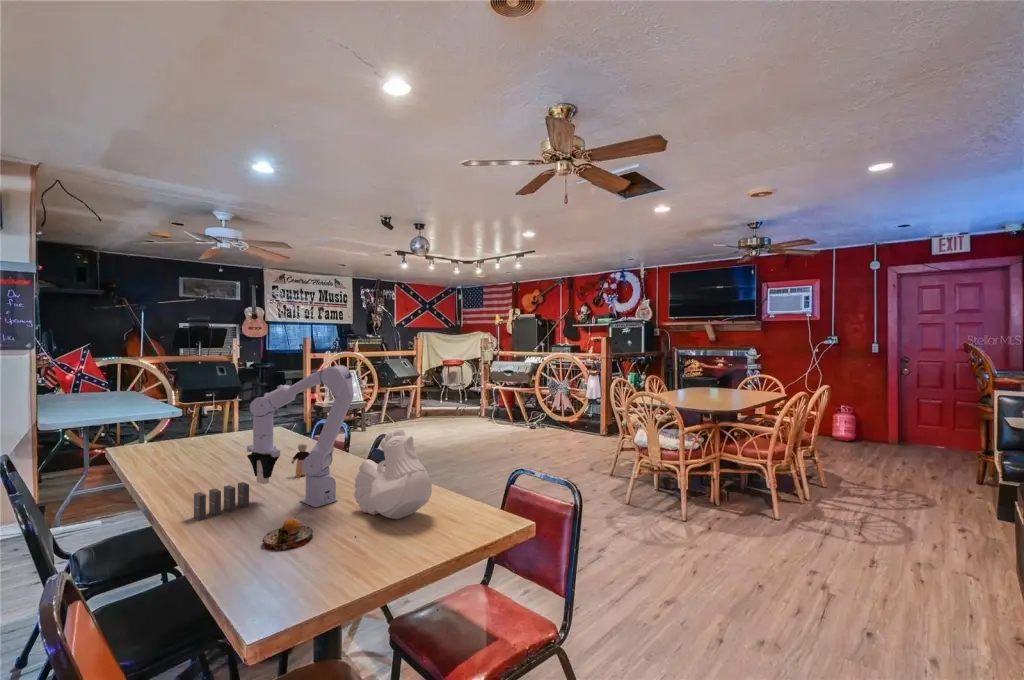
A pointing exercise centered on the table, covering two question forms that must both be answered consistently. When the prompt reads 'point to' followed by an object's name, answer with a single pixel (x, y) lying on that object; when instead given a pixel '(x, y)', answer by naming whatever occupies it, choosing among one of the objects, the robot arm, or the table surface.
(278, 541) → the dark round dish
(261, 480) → the ivory tile
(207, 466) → the table surface
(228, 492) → the tile
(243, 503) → the tile
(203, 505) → the tile
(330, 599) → the table surface
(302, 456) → the grandmother figurine
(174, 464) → the table surface
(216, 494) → the tile
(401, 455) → the decorative rooster
